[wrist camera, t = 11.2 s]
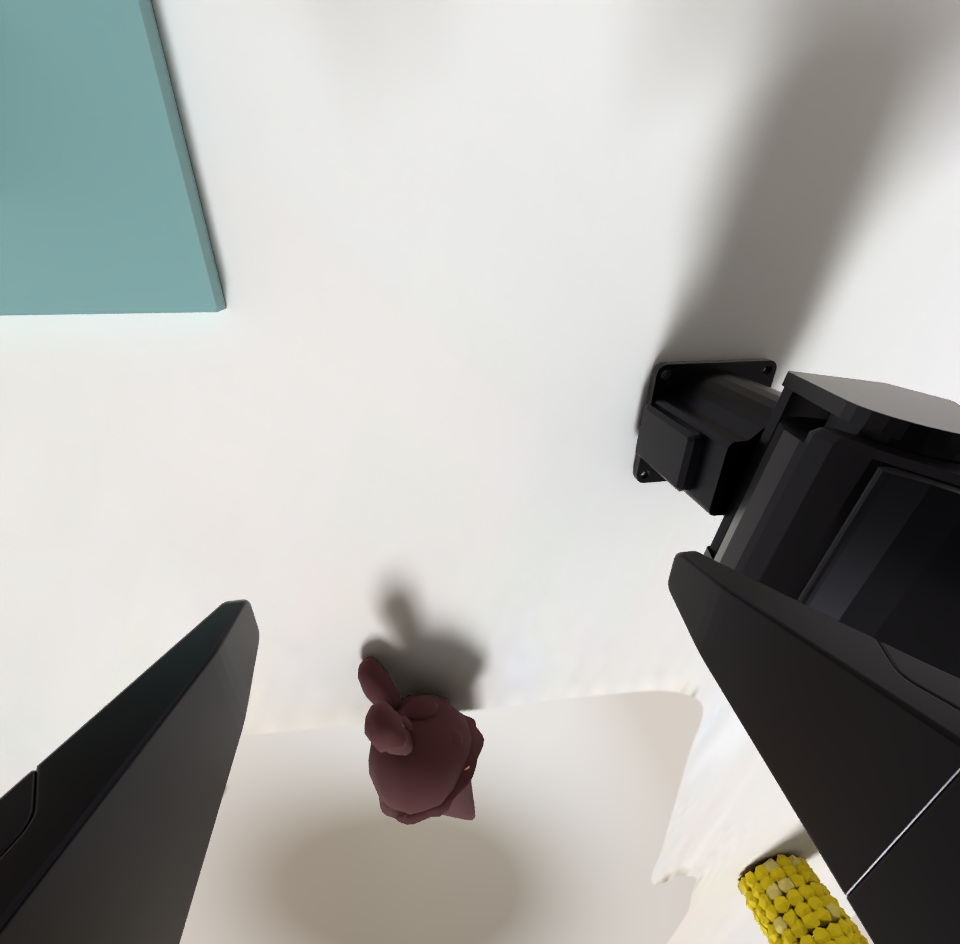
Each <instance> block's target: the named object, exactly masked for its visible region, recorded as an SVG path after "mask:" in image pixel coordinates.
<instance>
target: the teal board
mask: <svg viewBox="0 0 960 944" xmlns="http://www.w3.org/2000/svg"><path fill="white" fill-rule="evenodd" d="M223 309H226V305H225V301H224V297H223V293H222V289H221V285H220V281H219V276H218V272H217V268H216V264H215V260H214V256H213V252H212V248H211V244H210V240H209V236H208V232H207V228H206V224H205V220H204V215H203V211H202V207H201V203H200V199H199V195H198V191H197V187H196V183H195V179H194V175H193V171H192V167H191V163H190V159H189V154H188V150H187V146H186V142H185V138H184V134H183V130H182V126H181V122H180V118H179V114H178V110H177V106H176V102H175V98H174V93H173V89H172V85H171V81H170V77H169V73H168V69H167V65H166V61H165V57H164V53H163V49H162V45H161V41H160V37H159V32H158V28H157V24H156V20H155V16H154V12H153V8H152V4H151V0H0V315H54V314H119V313H183V312H219V311H221V310H223Z"/></svg>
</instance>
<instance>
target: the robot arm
mask: <svg viewBox="0 0 960 944" xmlns="http://www.w3.org/2000/svg"><path fill="white" fill-rule="evenodd" d="M765 367H766V369H765V371H764V372H763V369H764V368H765ZM776 367H777V366H776V363H775V362H774V361H771V360H768V359H742V360H714V361H687V362H663V363H660V364H658V365H657V366H656V367H655V368H654V370H653V373H652V378H651V383H650V388H649V393H648V398H647V404H646V406H645V407H644V409H643V414H642V419H641V424H640V430H639V435H638V440H637V445H636V453H637V456H636V461H635V466H634V471H633V475H634V477H635V478H636V479H637V480H638V481H639V482H641V483H648V482H661V481H668V482H669V483H670V484H671V485H672V486H673V487H674V488H675V489H677V490H678V491H684V492H685V493H686V494H688V495H689V496H690V497H691V498H692V499H693V500H694V501H695V502H697V503H698V504H699V505H700V506H701V507H702V508H703V509H705V510H706V511H707V512H708V513H709V514H710V515H713V516H716V515H723V516H724V518H723V520H722V522H721V524H720V526H719V528H718V531H717V533H716V535H715V537H714V539H713V541H712V544H711V546H708V547H707V548H706V550H705V553H704V555H703V554H701V553H699V552H696V551H688V552H680V553H678V554H677V555H676V556H675V558H674V561H673V565H672V569H671V572H670V576H669V580H668V586H669V590H670V593H671V595H672V597H673V599H674V601H675V603H676V606H677V608H678V610H679V612H680V614H681V616H682V618H683V620H684V622H685V624H686V627H687V629H688V631H689V633H690V635H691V637H692V639H693V641H694V643H695V645H696V647H697V649H698V651H699V653H700V655H701V656H702V658H703V660H704V662H705V663H706V665H707V667H708V668H709V670H710V672H711V673H712V675H713V677H714V678H715V680H716V682H717V683H718V685H719V687H720V688H721V690H722V692H723V693H724V695H725V697H726V698H727V700H728V702H729V703H730V705H731V707H732V708H733V710H734V712H735V713H736V715H737V717H738V718H739V720H740V722H741V723H742V725H743V727H744V728H745V730H746V732H747V733H748V735H749V736H750V738H751V740H752V741H753V743H754V745H755V746H756V748H757V750H758V751H759V753H760V755H761V756H762V758H763V760H764V761H765V763H766V765H767V766H768V768H769V770H770V771H771V773H772V775H773V776H774V778H775V780H776V781H777V783H778V785H779V786H780V788H781V790H782V791H783V793H784V795H785V796H786V798H787V800H788V801H789V803H790V804H791V806H792V808H793V809H794V811H795V813H796V814H797V816H798V818H799V819H800V821H801V823H802V824H803V826H804V828H805V829H806V831H807V833H808V834H809V836H810V838H811V839H812V841H813V843H814V844H815V846H816V848H817V849H818V851H819V853H820V854H821V856H822V858H823V859H824V861H825V863H826V864H827V866H828V868H829V869H830V871H831V873H832V874H833V876H834V877H835V879H836V881H837V882H838V884H839V886H840V887H841V889H842V891H843V892H844V894H845V895H847V900H848V901H849V903H850V905H851V906H852V908H853V910H854V911H855V913H856V914H857V916H858V918H859V919H860V921H861V923H862V924H863V926H864V928H865V929H866V931H867V933H868V934H869V936H870V938H871V939H872V941H873V943H874V944H960V405H958V404H957V403H956V402H953V401H951V400H947V399H944V398H940V397H936V396H932V395H928V394H925V393H921V392H917V391H913V390H909V389H906V388H902V387H898V386H894V385H890V384H886V383H880V382H872V381H864V380H856V379H849V378H841V377H833V376H825V375H817V374H809V373H801V372H793V371H788V373H787V375H786V377H785V379H784V382H783V384H782V385H783V386H784V389H783V391H782V392H780V391H777V390H775V389H772V388H770V387H771V384H772V381H773V378H774V375H775V372H776ZM664 370H667V373H666V375H665V376H664V377H661V374H662V372H663V371H664ZM762 372H763V373H762ZM644 471H646V473H645V474H644V475H641V474H642V473H643V472H644ZM258 644H259V629H258V626H257V623H256V620H255V617H254V613H253V610H252V607H251V604H250V603H249V601H247V600H235V601H227V602H224V603H223V604H221V605H220V606H219V607H218V608H217V609H215V610H214V611H213V612H212V613H211V614H210V615H209V616H208V617H206V618H205V619H204V620H203V621H202V622H201V623H200V624H198V625H197V626H196V627H195V628H194V629H193V630H192V631H190V632H189V633H188V634H187V635H186V636H185V637H184V638H182V639H181V640H180V641H179V642H178V643H177V644H176V645H174V646H173V647H172V648H171V649H170V650H169V651H168V652H166V653H165V654H164V655H163V656H162V657H161V658H160V659H159V660H157V661H156V662H155V663H154V664H153V665H152V666H151V667H149V668H148V669H147V670H146V671H145V672H144V673H143V674H141V675H140V676H139V677H138V678H137V679H136V680H135V681H133V682H132V683H131V684H130V685H129V686H128V687H127V688H125V689H124V690H123V691H122V692H121V693H120V694H119V695H117V696H116V697H115V698H114V699H113V700H112V701H111V702H110V703H108V704H107V705H106V706H105V707H104V708H103V709H102V710H100V711H99V712H98V713H97V714H96V715H95V716H94V717H92V718H91V719H90V720H89V721H88V722H87V723H86V724H84V725H83V726H82V727H81V728H80V729H79V730H78V731H76V732H75V733H74V734H73V735H72V736H71V737H70V738H69V739H67V740H66V741H65V742H64V743H63V744H62V745H61V746H59V747H58V748H57V749H56V750H55V751H54V752H53V753H51V754H50V755H49V756H48V757H47V758H46V759H45V760H43V761H42V762H41V763H40V764H39V765H38V766H37V770H34V771H31V772H30V773H28V774H27V775H26V776H25V777H24V778H23V779H22V780H20V781H19V782H18V783H17V784H16V785H15V786H14V787H12V788H11V789H10V790H9V791H8V792H7V793H6V794H4V795H3V796H2V797H1V798H0V944H179V943H180V939H181V936H182V932H183V929H184V926H185V922H186V919H187V915H188V912H189V909H190V905H191V902H192V899H193V895H194V891H195V888H196V885H197V881H198V878H199V875H200V871H201V868H202V864H203V861H204V858H205V854H206V851H207V848H208V844H209V841H210V837H211V834H212V830H213V827H214V824H215V820H216V817H217V813H218V810H219V807H220V803H221V800H222V797H223V793H224V790H225V786H226V783H227V780H228V776H229V773H230V769H231V766H232V763H233V759H234V756H235V752H236V749H237V746H238V742H239V739H240V735H241V732H242V728H243V724H244V721H245V716H246V711H247V706H248V701H249V695H250V689H251V684H252V678H253V672H254V666H255V661H256V655H257V649H258Z"/></svg>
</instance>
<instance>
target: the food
mask: <svg viewBox="0 0 960 944" xmlns="http://www.w3.org/2000/svg"><path fill="white" fill-rule="evenodd" d="M738 888H739V890H740V892H741V893H742V894H743V895H744V896H745V897H746V905H747V906H748V907H749V908H750V909H751V910H752V911H753V914H754V918H755V920H756V921H757V922H758V924H759V925H760V927H761V930H762V931H763V934H764V935H766V936H767V937H768V941H769V944H868V941H867V939H866V938H865V937H864V936H863V935H862V934H860V931H859V930H858V927H857V925H856V924H855V923H853V922H852V921H851V920H850V917H849V916H848V915H847V914H846V913H845V911H844V909H843V908H841V907H839V903H838V900H837V899H836V898H834V897H832V896H831V895H830V891H829V890H828V889H827V888H826V886H824V885H823V884H822V883H820V880H819V878H818V877H817V875H816V874H815V873H814V872H813V870H812V868H810V867H809V865H808V863H807V862H806V860H805V859H803V858H800V857H798V858H797V857H796V856H794V855H791V856H789V857H787V856H785V855H782V854H778V855H777V861H774V860H773V859H772V858H770V859H768V860H767V861H766V862H765V863H763V865H762V864H761V865H758V866H756V868H755V873H754V872H751V871H749V872H748V873H746V874H745V877H741V881H739V883H738ZM813 935H814V936H813ZM812 936H813V937H812Z"/></svg>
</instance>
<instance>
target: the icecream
mask: <svg viewBox="0 0 960 944" xmlns="http://www.w3.org/2000/svg"><path fill="white" fill-rule="evenodd" d="M358 679H359V681H360V684H361V687H362V689H363V692H364V693H365V695H366V697H367V698H368V699H369V700H370V701H371V702H372V703H373V704H374V705H372V706H371V707H370V709H369V711H368V713H367V715H366V718H365V734H366V736H367V737H368V738H369V740H370V741H371V747H370V754H369V774H370V776H371V779H372V781H373V784H374V786H375V788H376V791H377V793H378V795H379V800H380V807H381V810H382V812H383V813H384V814H386V815H387V816H390V817H393V818H395V819H397V820H398V821H399V822H401V823H404V824H415V823H417V822H420V821H422V820H425V819H427V818H429V817H436V816H437V817H438V816H441V815H446V816H451V817H455V818H460V819H465V820H473V819H474V817H475V807H474V800H473V793H472V785H471V779H472V777H473V774H474V771H475V768H476V764H477V758H478V756H479V754H480V752H481V749H482V747H483V742H484V738H483V736H482V734H481V733H480V731H479V730H478V729H477V727H476V723H475V721H474V719H472V718H470V717H468V716H465V715H463V714H462V713H460V712H459V711H457V710H456V709H455V708H453V707H452V706H451V705H450V703H449V701H448V699H447V698H443V697H439V696H435V695H412V696H408V697H405V698H403V699H402V700H401V698H400V696H399V693H398V691H397V689H396V687H395V685H394V684H393V682H392V680H391V678H390V677H389V675H388V673H387V671H386V670H385V669H384V668H383V667H382V666H381V664H380V663H379V662H378V661H377V660H376V659H373V658H371V657H368V658H366V659H365V660H363V661H362V663H361V664H360V665H359V669H358Z"/></svg>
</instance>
